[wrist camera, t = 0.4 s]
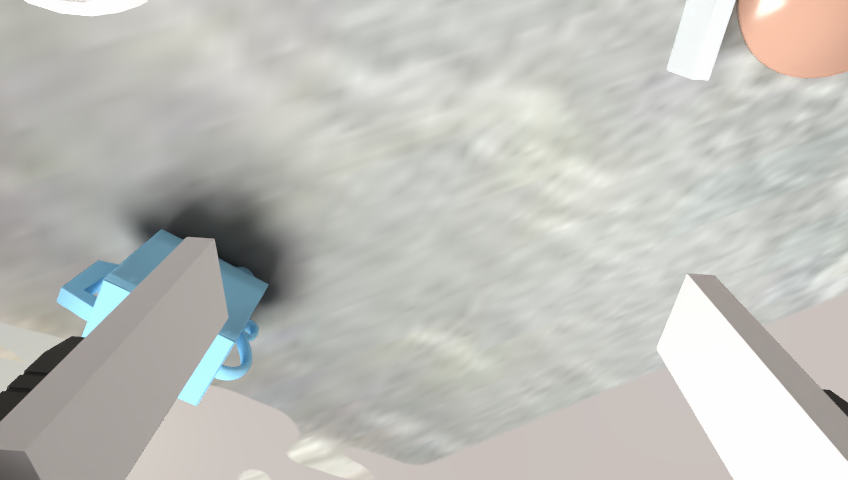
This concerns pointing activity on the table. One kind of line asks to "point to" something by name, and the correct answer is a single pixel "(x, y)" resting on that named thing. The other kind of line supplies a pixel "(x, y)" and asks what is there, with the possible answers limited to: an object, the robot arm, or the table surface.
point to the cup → (88, 6)
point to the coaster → (797, 35)
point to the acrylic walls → (699, 37)
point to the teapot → (131, 272)
